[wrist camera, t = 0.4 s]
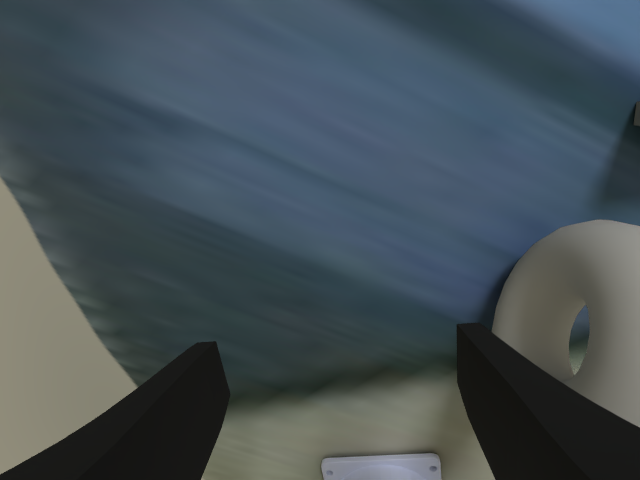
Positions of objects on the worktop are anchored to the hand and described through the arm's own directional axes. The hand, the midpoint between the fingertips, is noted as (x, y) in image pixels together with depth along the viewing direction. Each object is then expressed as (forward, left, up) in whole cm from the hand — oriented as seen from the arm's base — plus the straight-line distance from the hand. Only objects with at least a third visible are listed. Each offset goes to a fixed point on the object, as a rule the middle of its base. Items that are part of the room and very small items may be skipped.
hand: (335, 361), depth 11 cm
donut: (-3, -9, -10) cm, 14 cm away
